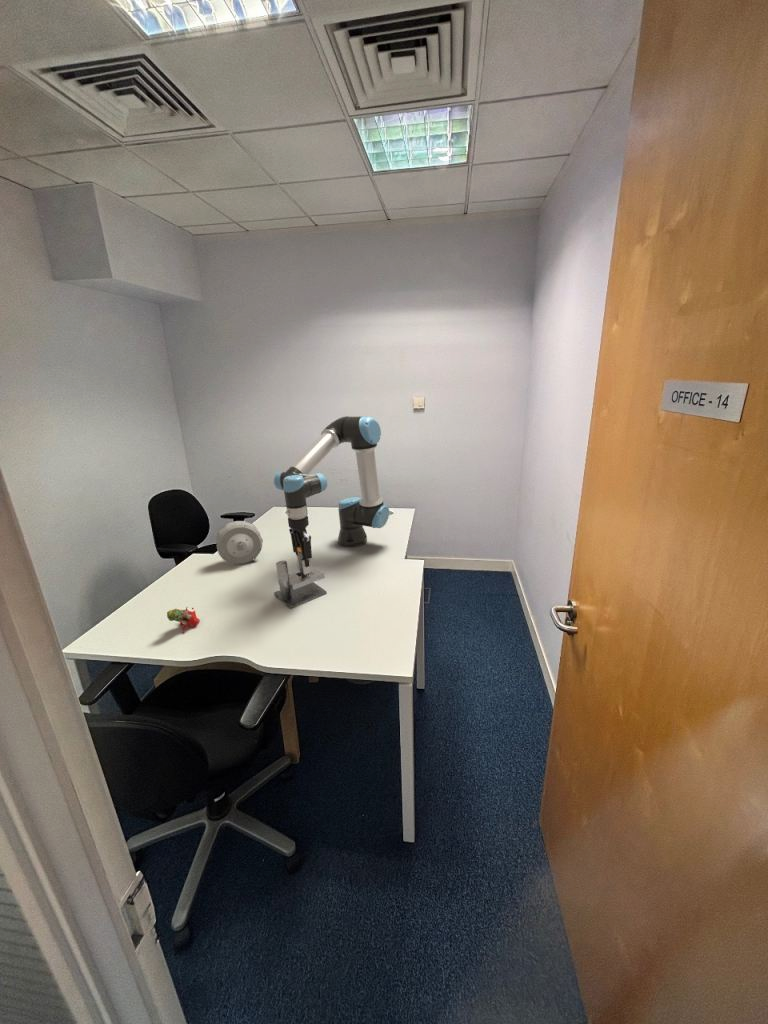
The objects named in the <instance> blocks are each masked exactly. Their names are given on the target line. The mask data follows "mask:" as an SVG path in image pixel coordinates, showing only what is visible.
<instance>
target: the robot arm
mask: <svg viewBox="0 0 768 1024" xmlns="http://www.w3.org/2000/svg"><path fill="white" fill-rule="evenodd" d="M381 436H382V430H381V426H380V424H379V422H378V421H377V420H376V419H375V418H374V417H371V416H349V415H348V416H342V417H340V418H337V419H335V420H334V421H332V422H330V423H329V424H327V426H326V427H325V428H324V429H323V430H322V431H321V433H320V436H319V437H318V438H317V439H316V440H315V441H314V442H313V443H312V445H311V446H309V447H308V448H307V450H305V451H304V453H303V454H302V455H300V456H299V458H298V459H296V461H295V462H294V463H293V464H292V465H290V467H289V468H288V469H287V470H286V471H279V472H277V473H276V474H275V476H274V479H273V484H274V486H275V488H276V489H278V490H280V491H283V494H284V498H285V499H284V500H285V507H286V510H285V512H286V515H287V517H288V518H287V523H288V527H289V529H288V530H289V535H290V538H291V544H292V551H293V553H295V555H296V559H297V560H296V561H297V568H298V569H297V570H299V571H300V567H299V559H298V551H297V547H298V546H300V547H301V552H302V557H303V559H301V560H302V565H303V573H304V575H305V574H308V573H311V571H310V565H311V564H310V559H312V558H313V555H312V554H313V553H312V536H311V535H308V531H307V529H306V528H308V526H309V516H308V506H307V498H310V497H312V496H315V495H318V494H321V493H322V492H324V491H325V490H326V489H327V487H328V480H327V477H326V476H325V475H324V474H322V473H313V474H310V473H311V472H313V470H314V469H315V468H317V466H318V465H319V464H320V463H321V462H322V461H323V460H324V459H325V457H326V456H327V455H328V454H329V453H330V452H331V451H332V449H334V448H337V447H339V446H340V445H341V444H342V443H343V444H344V443H350V445H351V449H352V450H353V451H354V452H355V456H356V466H357V472H358V473H357V474H358V478H359V487H360V494H361V497H360V496H359V497H358V496H354V497H353V496H352V497H347V498H344V499H341V500H339V502H338V509H337V510H338V517H339V519H338V520H339V527H340V529H339V532H338V536H337V543H338V544H339V545H340V546H342V547H345V548H346V547H349V548H353V547H359V546H362V545H364V544H366V543H367V541H368V536H367V533H366V531H365V527H370V528H372V529H381V528H384V527H385V526H386V524H387V522H388V519H389V517H390V507H389V506H387V505H386V504H384V499H383V497H381V496H380V488H379V479H378V471H377V464H376V462H377V461H376V455H375V449H376V448H377V446H378V443H379V442H380V441H381Z"/></svg>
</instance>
